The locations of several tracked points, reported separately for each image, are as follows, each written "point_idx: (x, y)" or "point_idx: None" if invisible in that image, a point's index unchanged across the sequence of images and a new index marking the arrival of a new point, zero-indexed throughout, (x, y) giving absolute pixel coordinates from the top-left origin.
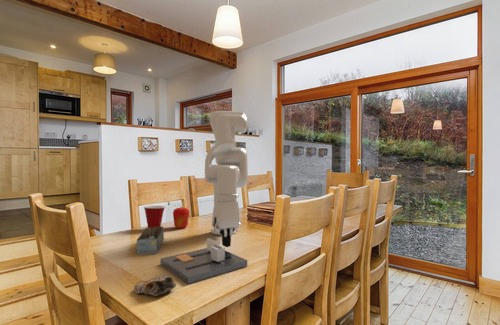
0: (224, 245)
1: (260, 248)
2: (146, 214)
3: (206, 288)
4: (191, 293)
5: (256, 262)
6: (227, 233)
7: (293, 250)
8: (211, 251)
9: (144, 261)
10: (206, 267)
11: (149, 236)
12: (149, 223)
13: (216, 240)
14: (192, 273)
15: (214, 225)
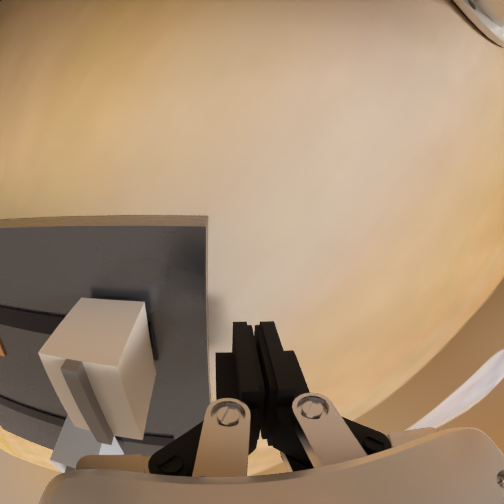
0: (232, 351)
1: (434, 340)
2: None
3: (49, 451)
4: (21, 440)
5: (271, 451)
6: (283, 437)
7: (449, 402)
8: (60, 446)
9: None
10: (47, 433)
11: None
12: None
13: (108, 434)
14: (10, 425)
15: (93, 489)
